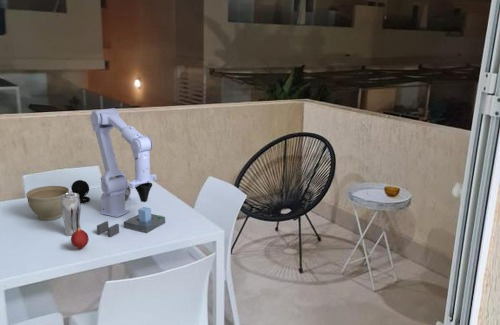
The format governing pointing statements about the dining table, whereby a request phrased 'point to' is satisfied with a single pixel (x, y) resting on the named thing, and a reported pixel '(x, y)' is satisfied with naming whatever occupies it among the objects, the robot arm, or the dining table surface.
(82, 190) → the webcam
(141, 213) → the plug
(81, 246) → the red christmas ornament
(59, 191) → the planter bowl
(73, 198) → the beer glass
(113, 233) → the holster
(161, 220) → the port block
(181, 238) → the dining table surface
